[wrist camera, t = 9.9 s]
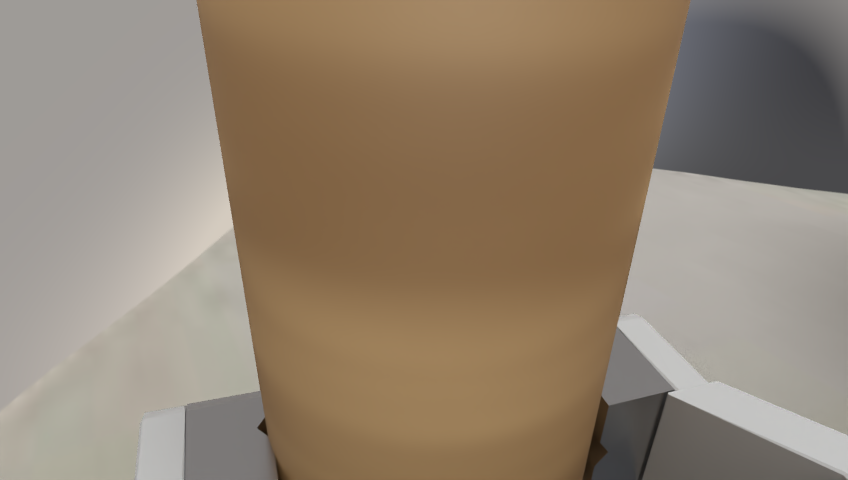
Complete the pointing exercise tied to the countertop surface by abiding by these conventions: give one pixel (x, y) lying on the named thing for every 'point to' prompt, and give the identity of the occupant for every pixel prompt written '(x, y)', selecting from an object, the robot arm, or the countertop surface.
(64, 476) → the countertop surface
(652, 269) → the countertop surface
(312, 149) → the dowel
